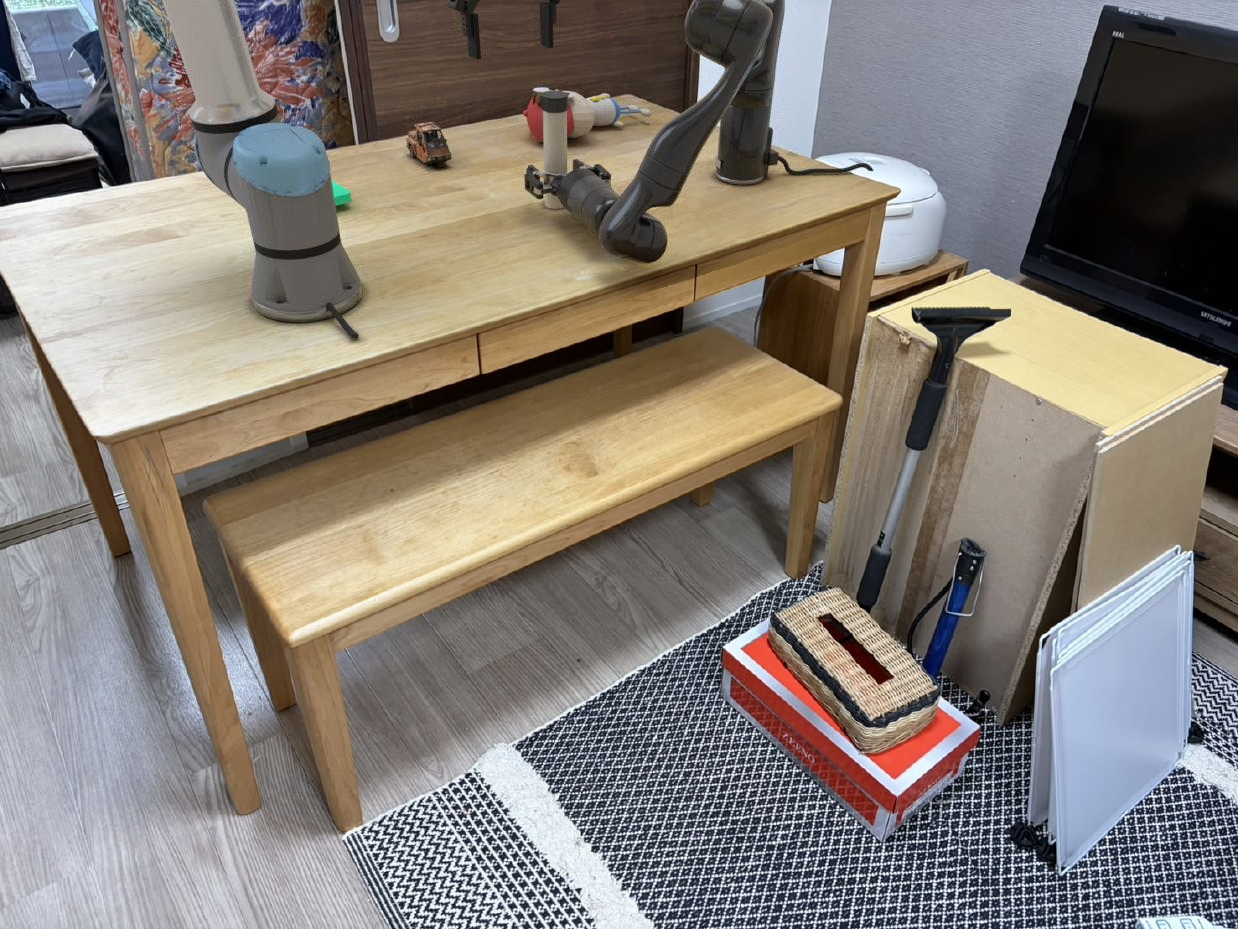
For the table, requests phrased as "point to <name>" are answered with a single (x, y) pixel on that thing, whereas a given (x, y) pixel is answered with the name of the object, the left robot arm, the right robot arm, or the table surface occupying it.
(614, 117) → the toy
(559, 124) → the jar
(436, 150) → the toy car
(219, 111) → the left robot arm
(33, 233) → the table surface
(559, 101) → the lid
